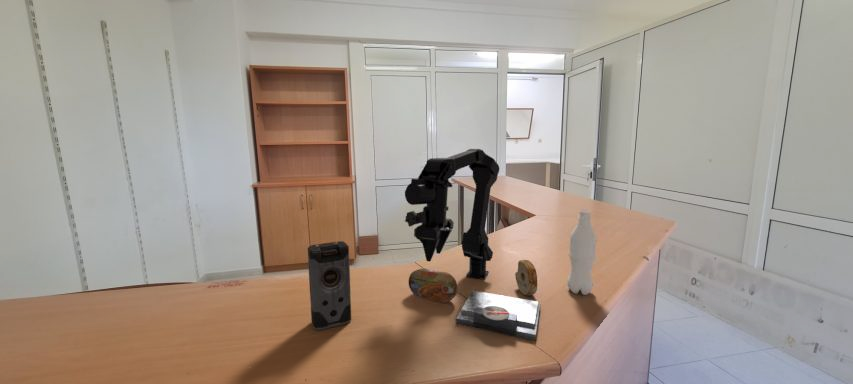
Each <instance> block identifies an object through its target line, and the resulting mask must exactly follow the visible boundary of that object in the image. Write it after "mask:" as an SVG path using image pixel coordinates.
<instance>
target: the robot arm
mask: <svg viewBox="0 0 853 384" xmlns="http://www.w3.org/2000/svg"><path fill="white" fill-rule="evenodd" d="M466 167H468V168H469V169H470V170H471V172H472V179H473V181H474V184H475V191H474V198H473V206H472V211H471V212H472V213H471V218H470V219H471V221H470V225H469V229H468V230H467V231H466V232H465V231H464V232H463V234H462V241H461V243H460V244H461V249H462V253H463V257H465V258H469V264H468V265H469V267H468V269H469V270H468V272H467V273H466V275H465V276H466V277H469V278H473V279H474V278H476V279H483V280H485V279H486V278H487V276H488V274H489V272H490V271H489V270H487V262H491V260H492V258H493V256H494V255H493V254H494V252H493V250H492V249H491V247H490V246H489V237H488V235H487V232H486V223H487V216H488V209H489V203H490V193H491V188H492V187H493V185H494V184H495V183H496V181H497V180H498V174H499V173H500V166H499V164H498V162H497V161H496V160H495V159H494V158H493V157H491V156H490V155H488V154H487V153H486V152H484V150H483V149H481V148H469V149H467V150H465V151H462V152H459V153H457V154H454V155H451V156H448V157H436V158H435V157H432V158H428V159H427V160H426V164H425V165H424V167H423V169H422V170H421V172H420V173H419V175H418V177H417V178H411V180H410V183H409V184H408V185H407V186H406V189H405V190H404V197H405V200H406V202H407V204H409V205H412V206H417V205H419V206H420V205H425V206H423V208H422V211H418V212H416V211H414V210H411V211H409V212H406V216H405V219H404V222H406V223H407V225H408V227H413V226H414V225H415V226H416V225H418V224H420V225H418V226H416V227H415V228H414V233H413V236H414V237H415V238H416V239H417V240H419V242H420V243H421V244H422V248H423V251H424V255H425V261H426V262H431V261H432V260H433V257H434V254H435V252H436V254H439V255H440V254H441V252H442V250H443V249H444V246H445V245H446V242H447V240H448V239H449V237H450V235H451V233H452V231H453V229H454V224H455V223H454V221H453V220H452V218H447V212H448V211H449V206H448V194H449V193H448V192H449V191H448V189H449V188H453V184H452V182H450V181H449V180H450V179H451V178H452V177H454V176H455V175H456V174H457V173H456V172H457V171H458V170H461V169H463V168H466Z"/></svg>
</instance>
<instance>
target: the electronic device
mask: <svg viewBox="0 0 853 384" xmlns="http://www.w3.org/2000/svg"><path fill="white" fill-rule="evenodd" d="M349 247H350V246H349V245H348V244H347V243H346V242H345V241H343V240H342V241H339V240H338V241H331V242H326V243H325V242H323V243H319V244H310V245H309V246H308V247H307V259H308V260H307V263H308V281H309V299H310V300H309V301H310V313H311V318H310V319H311V325H312V328H313V329H315V331H322V330H326V329H330V328H333V327H339V326H343V325H346V324H349V323H350V322H351V320H352V305H351V303H352V302H351V271H350V268H351V266H350V251H349V249H350V248H349Z"/></svg>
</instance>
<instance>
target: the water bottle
mask: <svg viewBox="0 0 853 384" xmlns="http://www.w3.org/2000/svg"><path fill="white" fill-rule="evenodd" d="M577 220H578V222H577V224H576V225H575V227H574V229H573V230H572V231H571V233H570V236H569V239H570V241H569V253H568V256H569V258H570V259H569V260H570V264H571V269H570V274H569V275H568V278H567V280H566V281H567V282H566V283H567V287H568V289H569V290H570V292H571V293H573V294H575V295H577V294H579V292H581V295H583V296H587V295H589V294H590V292H591V291H592V289H593V288H594V282H593V279H592V267H593V265H594V263H595V261H596V245H597V235H596V233H595V230H594V229H593V227H592V224H591V220H592V218H591V211H590V210H579V213H578V217H577Z"/></svg>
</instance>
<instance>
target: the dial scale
mask: <svg viewBox="0 0 853 384" xmlns="http://www.w3.org/2000/svg"><path fill="white" fill-rule="evenodd" d="M540 310H541V303H539V301H537V300H531V299H525V298H519V297H512V296H507V295H502V294H501V295H500V294H497V293H496V294H495V293H489V292H485V291H479V290H478V291H477V290H472V292H471V293H470V295H469V297H468V298H467V300H465V303H464V304H463V306H462V308H461V310H460V311H459V313H458V314H457V316H456V318H455V325H459V326H463V327H469V328H473V329H474V328H475V329H478V330H482V331H488V332H492V333H497V334H502V335H506V336H511V337H516V338H520V339H525V340H530V341H532V342H533V341H534V342H535V341H536V337H537V334H538V333H537V331H538V326H539V320H540V319H539V318H540Z"/></svg>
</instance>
